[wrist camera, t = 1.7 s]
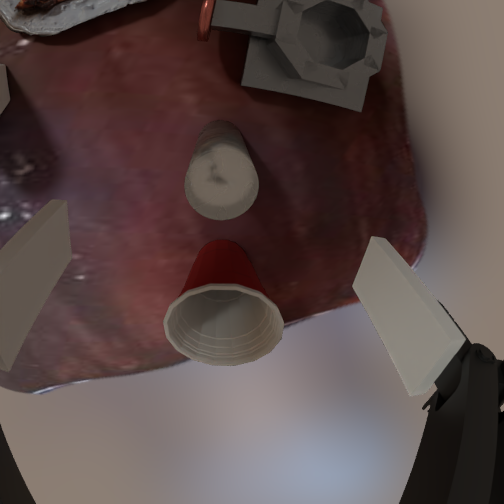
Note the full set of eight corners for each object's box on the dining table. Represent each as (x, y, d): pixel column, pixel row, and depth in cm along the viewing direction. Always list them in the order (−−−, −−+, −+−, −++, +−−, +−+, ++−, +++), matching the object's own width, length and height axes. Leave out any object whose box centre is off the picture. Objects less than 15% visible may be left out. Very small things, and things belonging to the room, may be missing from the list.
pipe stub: (201, 117, 29) (188, 146, 17) (245, 123, 30) (265, 156, 18) (195, 159, 31) (181, 216, 19) (238, 164, 32) (251, 223, 20)
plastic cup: (159, 272, 38) (142, 345, 27) (207, 202, 34) (203, 263, 24) (232, 309, 42) (238, 383, 32) (284, 250, 38) (309, 319, 28)
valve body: (216, -29, 21) (216, -54, 15) (374, 10, 24) (408, 0, 18) (194, 79, 27) (188, 79, 21) (353, 109, 30) (384, 120, 24)
